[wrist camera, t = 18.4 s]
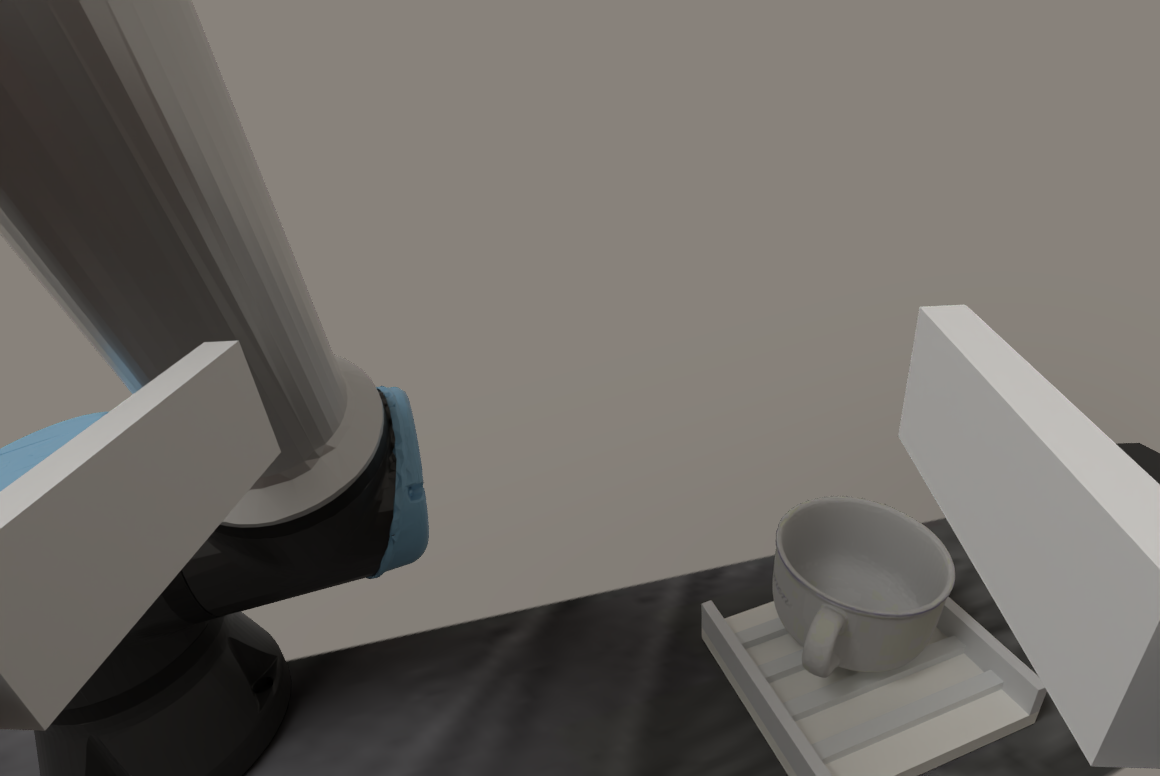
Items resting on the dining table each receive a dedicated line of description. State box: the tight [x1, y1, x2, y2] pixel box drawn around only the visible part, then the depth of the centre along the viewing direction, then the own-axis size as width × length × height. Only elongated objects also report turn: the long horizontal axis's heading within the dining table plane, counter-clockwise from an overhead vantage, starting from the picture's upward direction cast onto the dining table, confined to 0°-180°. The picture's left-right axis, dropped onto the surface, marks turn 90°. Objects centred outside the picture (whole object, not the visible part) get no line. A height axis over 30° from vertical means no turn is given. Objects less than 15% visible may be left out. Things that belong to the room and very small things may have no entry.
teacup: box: [773, 496, 955, 678], centre depth 44 cm, size 14×11×8 cm
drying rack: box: [701, 597, 1047, 776], centre depth 45 cm, size 16×14×4 cm
